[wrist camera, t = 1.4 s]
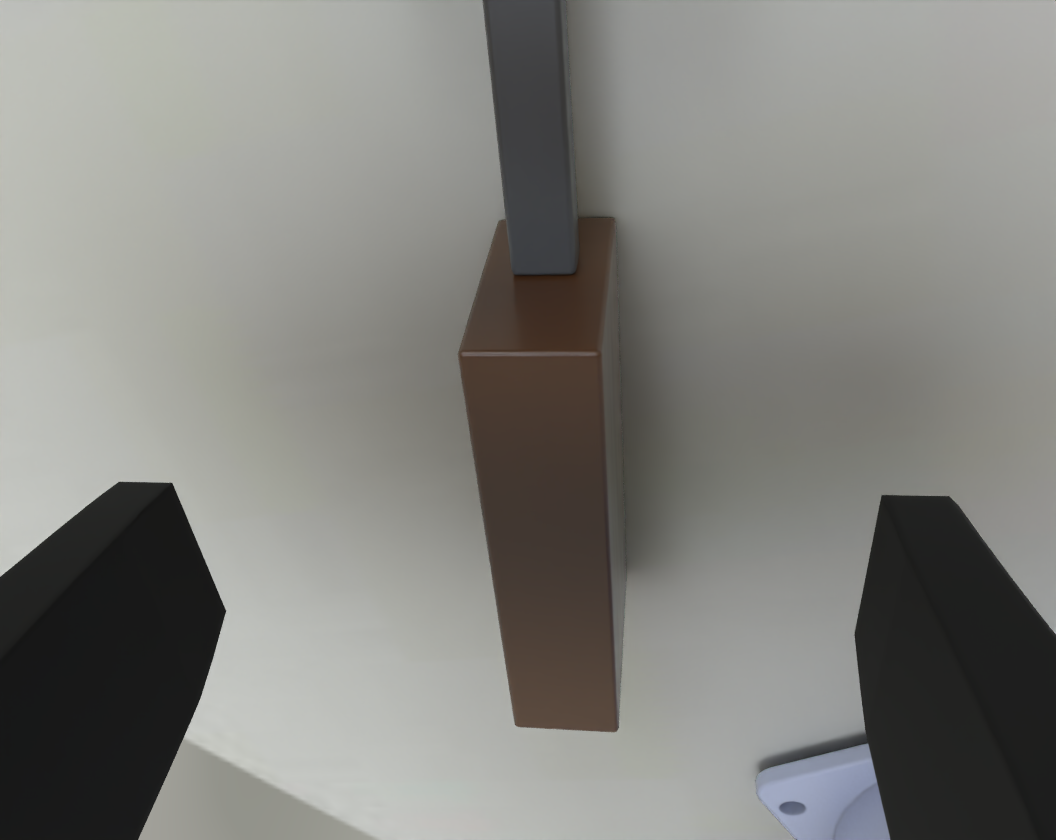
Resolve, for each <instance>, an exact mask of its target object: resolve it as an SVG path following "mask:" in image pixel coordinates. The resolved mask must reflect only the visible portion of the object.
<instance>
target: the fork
mask: <svg viewBox="0 0 1056 840" xmlns="http://www.w3.org/2000/svg"><path fill="white" fill-rule="evenodd" d="M483 8H484V18H485V27H486V36H487V46H488V55H489V65H490V74H491V83H492V93H493V102H494V112H495V121H496V130H497V140H498V149H499V159H500V168H501V177H502V187H503V196H504V206H505V215H506V220H501V221H499V222H498V224H497V227H496V231H495V234H494V237H493V240H492V244H491V247H490V250H489V253H488V257H487V260H486V263H485V266H484V270H483V273H482V276H481V280H480V283H479V286H478V289H477V293H476V296H475V299H474V302H473V306H472V309H471V312H470V315H469V319H468V322H467V325H466V328H465V332H464V335H463V338H462V342H461V345H460V348H459V351H458V360H459V367H460V373H461V380H462V386H463V393H464V399H465V406H466V412H467V419H468V425H469V431H470V438H471V444H472V451H473V457H474V464H475V470H476V477H477V483H478V490H479V496H480V503H481V509H482V515H483V522H484V528H485V535H486V541H487V548H488V554H489V561H490V567H491V574H492V580H493V587H494V593H495V600H496V606H497V612H498V619H499V625H500V632H501V638H502V645H503V651H504V658H505V664H506V671H507V677H508V684H509V690H510V696H511V703H512V709H513V716H514V722H515V725H516V726H517V727H527V728H545V729H563V730H582V731H600V732H617V730H618V728H619V713H620V694H621V675H622V656H623V637H624V618H625V599H626V580H627V572H626V538H625V504H624V470H623V436H622V402H621V368H620V334H619V300H618V266H617V232H616V221H615V219H614V218H578V211H577V193H576V175H575V157H574V139H573V122H572V104H571V86H570V68H569V50H568V32H567V15H566V0H483Z"/></svg>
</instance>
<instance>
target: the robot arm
mask: <svg viewBox="0 0 1056 840" xmlns="http://www.w3.org/2000/svg"><path fill="white" fill-rule="evenodd" d="M225 613H226V610H225V607H224V605H223V603H222V600H221V598H220V596H219V593H218V591H217V588H216V586H215V584H214V581H213V579H212V576H211V574H210V572H209V569H208V567H207V565H206V562H205V560H204V557H203V555H202V553H201V550H200V548H199V546H198V543H197V541H196V538H195V536H194V534H193V531H192V529H191V527H190V524H189V522H188V519H187V517H186V515H185V512H184V510H183V507H182V505H181V503H180V500H179V498H178V496H177V493H176V491H175V488H174V486H173V484H172V483H148V482H118V483H117V484H116V485H114V486H113V487H112V488H110V489H109V490H107V491H106V492H105V493H103V494H102V495H101V496H99V497H98V498H97V499H95V500H94V501H93V502H92V503H90V504H89V505H88V506H87V507H85V508H84V509H83V510H82V511H80V512H79V513H78V514H77V515H75V516H74V517H73V518H72V519H70V520H69V521H68V522H67V523H65V524H64V525H63V526H62V527H60V528H59V529H58V530H57V531H56V532H54V533H53V534H52V535H51V536H49V537H48V538H47V539H46V540H45V541H43V542H42V543H41V544H40V545H39V546H37V547H36V548H35V549H34V550H32V551H31V552H30V553H29V554H28V555H26V556H25V557H24V558H23V559H22V560H20V561H19V562H18V563H17V564H15V565H14V566H13V567H12V568H11V569H9V570H8V571H7V572H6V573H4V574H3V575H2V576H1V577H0V840H138V838H139V836H140V834H141V832H142V830H143V827H144V825H145V823H146V821H147V818H148V816H149V814H150V812H151V810H152V807H153V805H154V803H155V801H156V798H157V796H158V794H159V792H160V790H161V787H162V785H163V783H164V781H165V778H166V776H167V774H168V772H169V770H170V767H171V765H172V763H173V760H174V758H175V756H176V754H177V751H178V749H179V746H180V744H181V742H182V740H183V738H184V735H185V733H186V731H187V728H188V726H189V724H190V722H191V719H192V717H193V715H194V712H195V710H196V707H197V705H198V703H199V700H200V698H201V695H202V691H203V688H204V685H205V682H206V679H207V676H208V672H209V669H210V666H211V663H212V660H213V656H214V653H215V649H216V645H217V642H218V638H219V634H220V631H221V627H222V624H223V620H224V616H225ZM855 643H856V652H857V662H858V671H859V680H860V690H861V698H862V706H863V714H864V722H865V730H866V736H867V740H868V743H866V744H862V745H858V746H854V747H850V748H846V749H842V750H838V751H834V752H830V753H826V754H822V755H818V756H814V757H810V758H806V759H802V760H798V761H794V762H790V763H786V764H782V765H778V766H773V767H770V768H767V769H765V770H763V771H761V772H760V773H759V774H758V775H757V777H756V794H757V796H758V798H759V800H760V801H761V802H762V803H763V804H764V805H765V806H766V807H767V809H768V810H769V811H770V812H771V813H772V814H773V815H774V816H775V817H776V818H777V820H778V821H779V822H780V823H781V824H782V825H783V826H784V827H785V828H786V829H787V831H788V832H789V833H790V834H791V835H792V836H793V837H794V838H795V839H796V840H1056V634H1055V633H1054V632H1053V631H1052V629H1051V628H1050V627H1049V626H1048V624H1047V623H1046V622H1045V621H1044V619H1043V618H1042V617H1041V616H1040V614H1039V613H1038V612H1037V610H1036V609H1035V608H1034V607H1033V605H1032V604H1031V603H1030V601H1029V600H1028V599H1027V597H1026V596H1025V595H1024V594H1023V592H1022V591H1021V590H1020V588H1019V587H1018V586H1017V584H1016V583H1015V582H1014V581H1013V579H1012V578H1011V577H1010V575H1009V574H1008V573H1007V571H1006V570H1005V569H1004V567H1003V566H1002V565H1001V563H1000V562H999V561H998V559H997V558H996V556H995V555H994V554H993V552H992V551H991V550H990V548H989V547H988V546H987V544H986V543H985V541H984V540H983V539H982V537H981V536H980V535H979V533H978V532H977V530H976V529H975V528H974V526H973V525H972V524H971V522H970V521H969V519H968V518H967V517H966V515H965V514H964V512H963V511H962V510H961V508H960V507H959V506H958V505H957V504H956V503H955V502H954V501H953V500H952V499H951V498H950V497H949V496H897V495H882V496H881V501H880V506H879V512H878V517H877V522H876V527H875V532H874V537H873V542H872V547H871V553H870V558H869V563H868V568H867V573H866V578H865V583H864V588H863V594H862V599H861V604H860V609H859V614H858V619H857V624H856V629H855Z"/></svg>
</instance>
